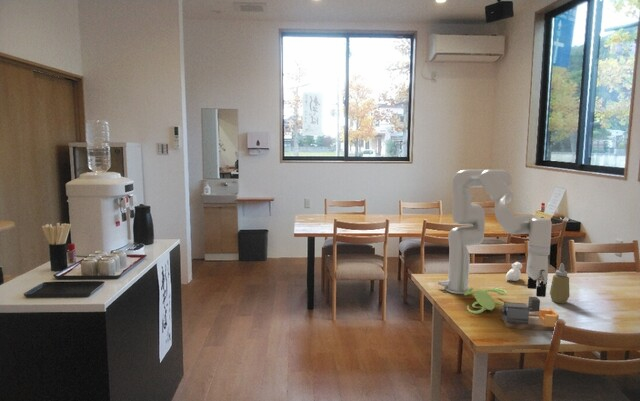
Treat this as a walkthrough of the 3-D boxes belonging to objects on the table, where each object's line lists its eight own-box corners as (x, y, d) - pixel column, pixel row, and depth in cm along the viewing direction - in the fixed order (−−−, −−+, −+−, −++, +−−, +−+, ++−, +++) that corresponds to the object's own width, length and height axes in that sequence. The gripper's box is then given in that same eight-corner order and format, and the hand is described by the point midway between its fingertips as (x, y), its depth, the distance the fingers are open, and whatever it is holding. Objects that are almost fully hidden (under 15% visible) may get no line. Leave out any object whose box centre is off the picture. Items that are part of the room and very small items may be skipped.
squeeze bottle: (566, 299, 197) (570, 262, 195) (570, 305, 189) (574, 267, 187) (547, 297, 199) (550, 260, 197) (550, 303, 192) (554, 265, 190)
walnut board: (507, 327, 165) (508, 324, 165) (501, 318, 174) (501, 315, 174) (559, 331, 162) (560, 328, 162) (550, 321, 171) (550, 319, 171)
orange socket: (545, 326, 164) (546, 314, 163) (538, 319, 171) (539, 307, 170) (557, 327, 163) (558, 314, 163) (550, 320, 170) (551, 308, 169)
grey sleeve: (506, 322, 167) (507, 306, 166) (502, 317, 172) (504, 302, 171) (528, 324, 166) (529, 308, 165) (523, 319, 171) (524, 303, 170)
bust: (508, 286, 222) (523, 273, 215) (498, 275, 225) (512, 261, 219) (518, 281, 230) (532, 268, 224) (507, 271, 233) (521, 257, 227)
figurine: (504, 297, 200) (505, 286, 199) (514, 319, 174) (515, 306, 173) (463, 293, 204) (464, 282, 204) (467, 314, 179) (468, 301, 178)
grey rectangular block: (508, 316, 167) (509, 298, 166) (505, 312, 171) (506, 295, 170) (540, 318, 165) (541, 300, 164) (536, 314, 169) (538, 297, 168)
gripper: (521, 244, 173) (519, 285, 175) (536, 254, 156) (533, 299, 158) (540, 245, 172) (538, 286, 174) (558, 255, 155) (555, 300, 157)
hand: (536, 292), depth 166 cm, fingers open, 9 cm apart
